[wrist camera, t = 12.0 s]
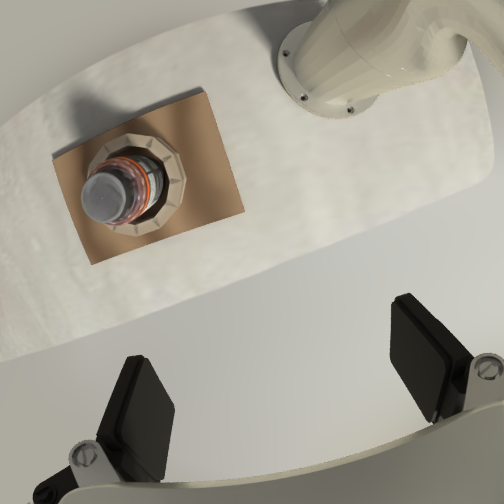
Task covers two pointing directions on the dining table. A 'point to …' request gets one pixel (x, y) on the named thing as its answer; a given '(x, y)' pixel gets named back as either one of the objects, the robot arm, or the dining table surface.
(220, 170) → the socket board
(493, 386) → the robot arm
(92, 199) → the supplement bottle
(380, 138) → the dining table surface
